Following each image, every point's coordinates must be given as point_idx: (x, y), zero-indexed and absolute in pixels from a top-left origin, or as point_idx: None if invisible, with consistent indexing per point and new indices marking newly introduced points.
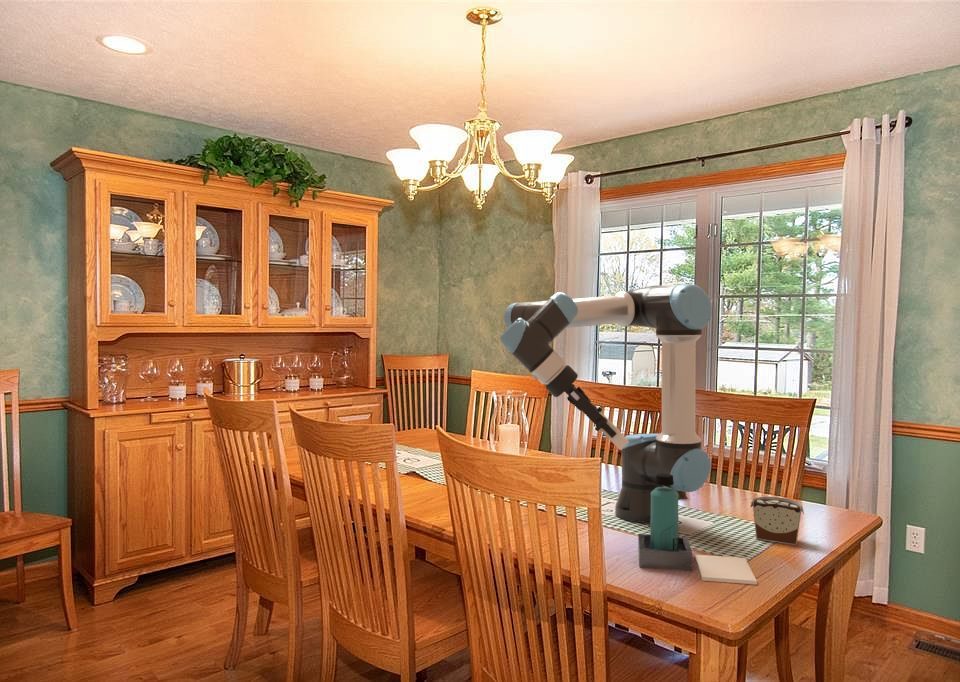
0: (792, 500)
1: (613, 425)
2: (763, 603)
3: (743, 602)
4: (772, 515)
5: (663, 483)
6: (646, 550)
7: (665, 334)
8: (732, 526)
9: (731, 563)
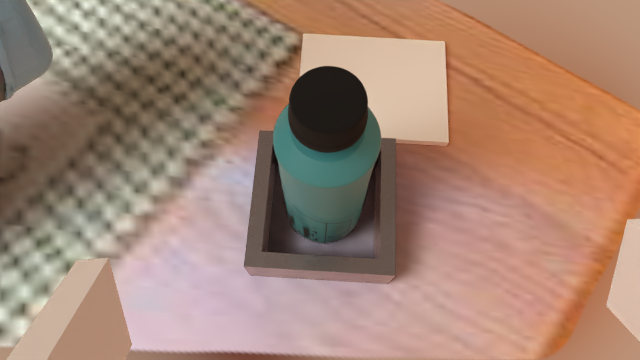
0: None
1: (73, 328)
2: (540, 56)
3: (547, 89)
4: None
5: (366, 120)
6: (394, 255)
7: None
8: (36, 12)
9: (346, 66)
